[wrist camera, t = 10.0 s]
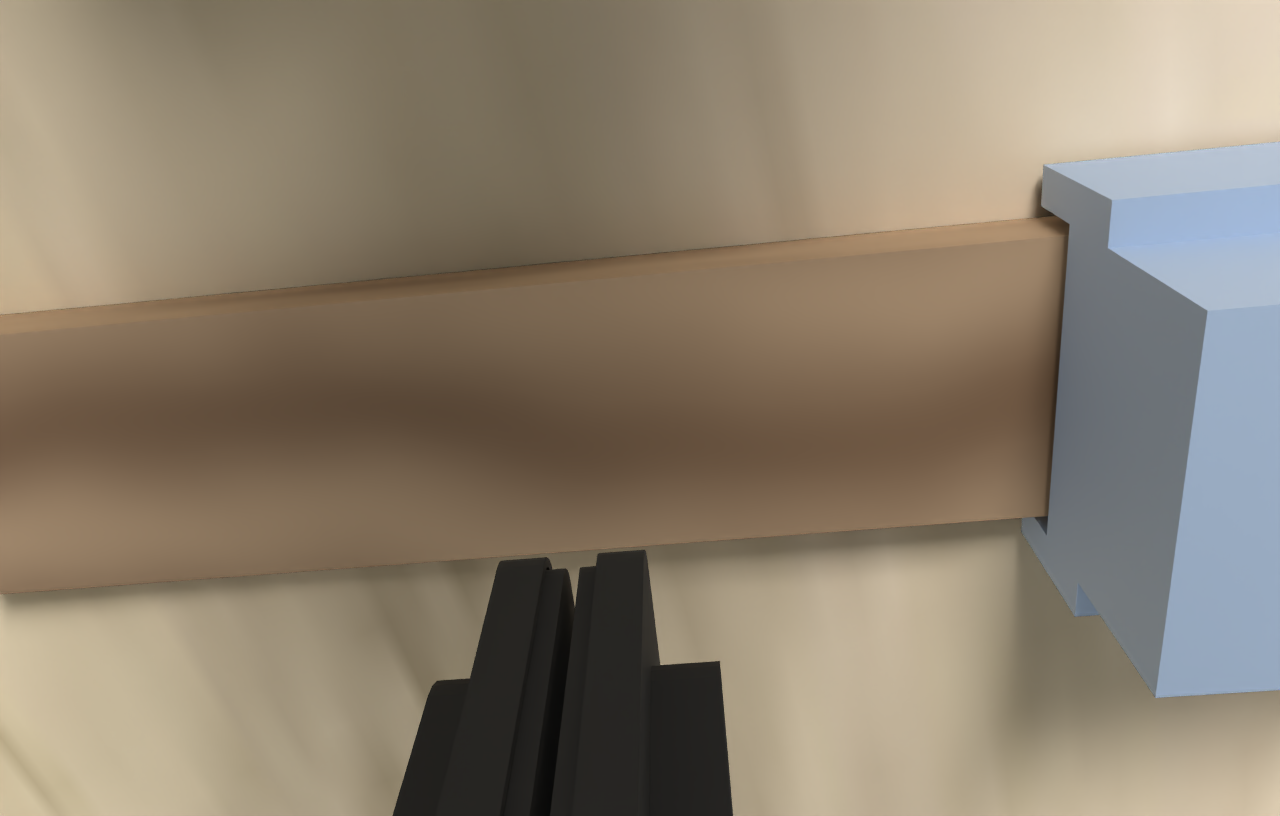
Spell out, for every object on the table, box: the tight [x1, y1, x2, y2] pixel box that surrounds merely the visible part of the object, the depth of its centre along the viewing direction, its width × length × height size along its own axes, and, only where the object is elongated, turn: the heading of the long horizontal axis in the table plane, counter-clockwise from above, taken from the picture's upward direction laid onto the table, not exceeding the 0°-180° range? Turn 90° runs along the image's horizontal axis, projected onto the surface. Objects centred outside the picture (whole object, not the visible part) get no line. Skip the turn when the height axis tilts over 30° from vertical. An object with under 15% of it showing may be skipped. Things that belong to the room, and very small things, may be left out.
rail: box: [0, 216, 1070, 594], centre depth 19 cm, size 8×34×6 cm, turn 96°
